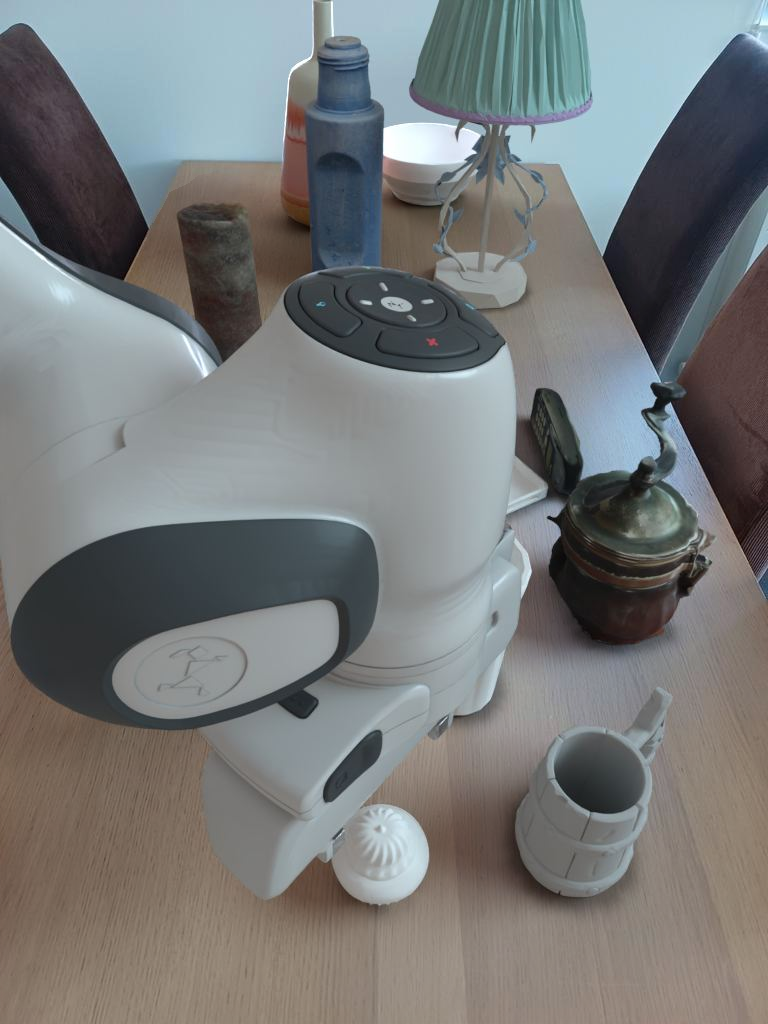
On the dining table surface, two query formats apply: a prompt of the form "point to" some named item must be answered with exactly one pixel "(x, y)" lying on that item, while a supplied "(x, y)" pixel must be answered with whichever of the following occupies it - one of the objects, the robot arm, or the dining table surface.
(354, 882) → the muffin
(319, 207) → the bottle
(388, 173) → the bowl
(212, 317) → the dark brown hollow tube
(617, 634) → the coffee grinder
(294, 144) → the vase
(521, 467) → the phone case
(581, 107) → the table lamp
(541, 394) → the mobile phone
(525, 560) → the cup
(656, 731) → the mug
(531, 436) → the dining table surface
